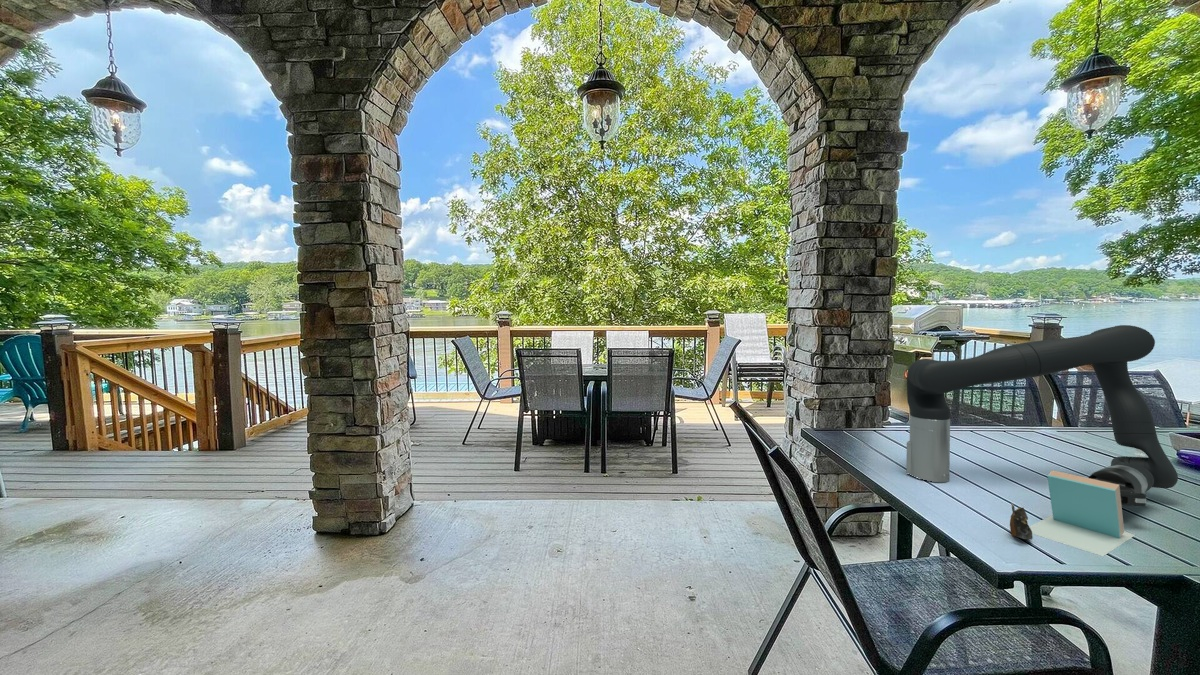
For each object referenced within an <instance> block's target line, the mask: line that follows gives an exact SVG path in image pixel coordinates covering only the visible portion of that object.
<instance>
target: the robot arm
mask: <svg viewBox="0 0 1200 675" xmlns="http://www.w3.org/2000/svg"><path fill="white" fill-rule="evenodd" d="M1155 344H1156V340H1155V337H1154V336H1153V335H1152V333H1151V332H1149V330H1146V328H1145V329H1144V328H1143V327H1139V326H1136V325H1129V324H1122V325H1121V324H1120V325H1115V326H1109V327H1105V328H1101V329H1098V330H1097V329H1096V330H1095V331H1093V332H1091V333H1089V334H1085V335H1084V334H1083V335H1080V336H1074V337H1073V336H1072V337H1063V338H1054V339H1053V338H1052V339H1051V338H1050V339H1043V340H1034V341H1028V342H1027V341H1025V342H1022V343H1021V342H1020V343H1016V344H1010V345H1005V346H1001V347H997V348H995V349H992V350H989V351H987V352H985V353H982V354H980V355H977V356H974V357H968V358H963V359H962V358H961V359H954V360H937V359H936V360H935V359H932V358H919V359H917V360H915V361H914V362H912V364H910V365H909V366H908V370H907V374H906V396H907V397H906V399H907V404H908V408H909V440H908V441H906V469H905V470H906V473H909V474H911V475H913V476H915V477H918V478H920V479H923V480H922V481H924V480H927V481H926V482H930V481H932V483H945V482H949V481H950V474H951V473H950V468H951V467H950V466H951V465H950V462H951V461H950V459H951V458H950V457H951V452H950V451H951V449H950V448H951V408H950V407H949V405H948V404H947V401H946V398H945V397H946V396H945V394H947V393H950V392H954V391H957V390H958V391H959V390H961V389H965V388H969V387H973V386H974V387H975V386H977V385H982V384H994V383H1003V382H1004V383H1005V382H1008V381H1009V382H1011V381H1019V380H1025V379H1031V378H1037V377H1042V376H1046V375H1051V374H1056V373H1060V372H1064V371H1068V370H1071V369H1074V368H1078V367H1083V366H1089V365H1091V366H1092V368H1093V370H1094V374H1095V375H1096V378H1097V380H1098V383H1099V386H1100V388H1101V390H1102V394H1103V397H1104V398H1105V401H1106V405H1107V407H1108V412H1109V417H1110V422H1111V427H1112V432H1113V436H1114V441H1115V442H1116V444H1118V445H1119V446H1121V447H1127V448H1131V449H1132V448H1133V449H1135V450H1136V449H1140V450H1142V451H1143V454H1145V455H1146V456H1143V457H1137V456H1127V455H1126V456H1117V457H1116V456H1115V457H1113V458H1112V460H1111V462H1110V466H1106V467H1103V468H1102V469H1100V470H1096V471H1094V472H1093V473H1091V474H1090V475H1089V476H1088V478H1090V479H1095V480H1099V481H1104V482H1109V483H1113V484H1118V485H1119V487H1120V496H1121V506H1122V507H1143V508H1144V507H1145V508H1146V506H1147V494H1145V493H1147V491H1149V490H1150V489H1152V488H1156V489H1170V488H1173V487H1175V486H1176V484H1177V483H1178V481H1179V475H1178V472H1177V470H1176V468H1175V466H1174V465H1173V464H1172V462H1171V460H1170V459H1169V457H1168V456H1167V454H1166V453H1165V450H1164V449H1163V447H1162V446H1161V443H1160V440H1159V438H1158V433H1157V429H1156V426H1155V421H1154V416H1153V414H1152V411H1151V409H1150V407H1149V405H1148V404H1147V402H1146V401H1145V399H1144V398H1143V397H1142V396H1141V394H1140V393H1139V392H1138V390H1137V388H1136V387H1135V386H1134V384H1133V381H1132V379H1131V377H1130V374H1129V370H1128V368H1129V367H1128V362H1129V363H1130V362H1134V361H1138V360H1141V359H1143V358H1145V357H1146V356H1148V355H1149V354H1150V353H1152V351H1153V350H1154V348H1155ZM906 473H905V474H906ZM920 479H919V480H920Z"/></svg>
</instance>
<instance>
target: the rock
mask: <svg viewBox="0 0 1200 675" xmlns="http://www.w3.org/2000/svg"><path fill="white" fill-rule="evenodd" d="M1010 505H1011V511H1012V514H1011V515H1010V520H1009V530H1010V533H1011V536H1012V537H1017V538H1020V539H1023V540H1029V541H1030V540H1031V541H1032V540H1033V539H1034V538H1033V534H1032V531H1031V529H1030V527H1029V526H1030V525H1029V524H1028V520H1029V517H1028V514H1027V513H1026V512H1027V511H1026V509H1025V508H1024V507H1018V508H1017V509H1015V505H1014V503H1012V502H1011V504H1010Z"/></svg>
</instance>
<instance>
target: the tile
mask: <svg viewBox="0 0 1200 675" xmlns="http://www.w3.org/2000/svg"><path fill="white" fill-rule="evenodd" d="M1047 484H1048V490H1049V496H1050V497H1049V499H1050V504H1051V506H1050V507H1051V510H1052V512H1051V513H1052V515H1053V519H1054V520H1057V521H1061V522H1064V523H1068V524H1071V525H1075V526H1078V527H1081V528H1085V529H1088V530H1092V531H1095V532H1099V533H1102V534H1106V535H1109V536H1113V537H1116V538H1121V536H1122V534H1123V533H1124V532H1125V527H1124V526H1125V525H1124V518H1123V509H1122V507H1123V506H1121V496H1120V487H1119V485H1118V484H1113V483H1109V482H1104V481H1099V480H1095V479H1090V478H1089V477H1085V476H1080V475H1075V474H1072V473H1071V474H1070V473H1067V472H1063V471H1057V470H1051V471H1050V472H1049V474H1048V475H1047Z"/></svg>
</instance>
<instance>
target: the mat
mask: <svg viewBox="0 0 1200 675" xmlns="http://www.w3.org/2000/svg"><path fill="white" fill-rule="evenodd" d="M1029 527H1030V529H1031V531H1032V535H1034V536H1037V537H1040V538H1044V539H1047V540H1050V541H1054V542H1057V543H1060V544H1064V545H1066V546H1069V547H1071V548H1075V549H1078V550H1082V551H1085V552H1088V553H1090V554H1091V553H1092V554H1095V555H1097V556H1100V557H1105V556H1107V554H1109V553H1111V552H1112V551H1113V550H1115V549H1117V548H1118V547H1120V546H1122V545H1123V544H1125V543H1126V542H1127V541H1129V540H1131V538H1134V537H1136V534H1133V533H1131V532H1130V533H1129V532H1126V531H1124V533H1123V534H1122V536H1121V538H1116V537H1113V536H1109V535H1106V534H1102V533H1099V532H1095V531H1092V530H1088V529H1085V528H1081V527H1078V526H1075V525H1071V524H1068V523H1064V522H1061V521H1057V520H1054V519H1053V514H1051V515H1050V516H1047V517H1046V518H1043V519H1042V520H1039V521H1037V522H1036V523H1033V524H1032V525H1029Z"/></svg>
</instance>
